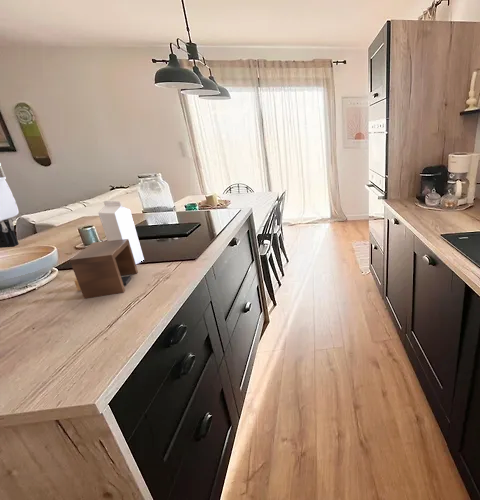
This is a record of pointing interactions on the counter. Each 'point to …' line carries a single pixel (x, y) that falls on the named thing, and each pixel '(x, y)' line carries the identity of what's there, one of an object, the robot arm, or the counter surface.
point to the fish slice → (124, 279)
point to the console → (103, 267)
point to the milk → (120, 226)
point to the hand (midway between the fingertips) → (8, 246)
